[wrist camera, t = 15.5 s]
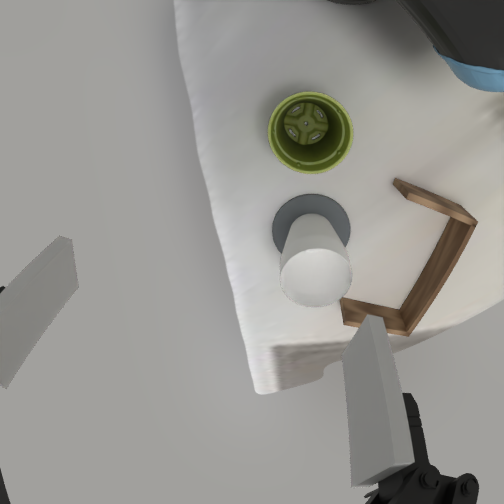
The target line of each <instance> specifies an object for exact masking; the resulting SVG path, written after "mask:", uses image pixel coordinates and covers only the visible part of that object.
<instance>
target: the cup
mask: <svg viewBox="0 0 504 504" xmlns="http://www.w3.org/2000/svg"><path fill="white" fill-rule="evenodd" d="M351 282H352V271H351V265H350V258H349V255H348V252H347V250H346V248H345V247H344V245H343V243H342V242H341V240H340V238H339V237H338V235H337V233H336V232H335V230H334V228H333V227H332V225H331V224H330V222H329V221H328V220H327V219H326V218H325V217H323V216H321V215H319V214H312V213H311V214H305V215H302V216H300V217H298V218H297V219H296V220H295V221H294V222H293V224H292V225H291V228H290V231H289V234H288V237H287V240H286V243H285V246H284V249H283V252H282V255H281V259H280V283H281V287H282V290H283V292H284V293H285V295H286V296H287V297H288V298H289V299H290V300H292V301H293V302H295V303H297V304H299V305H302V306H306V307H323V306H327V305H330V304H332V303H334V302H336V301H338V300H339V299H341V298H342V297H343V296H344V295H345V294H346V292H347V291H348V289H349V287H350V285H351Z"/></svg>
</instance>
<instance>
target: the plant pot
mask: <svg viewBox="0 0 504 504" xmlns="http://www.w3.org/2000/svg"><path fill="white" fill-rule="evenodd" d="M296 107H300V109H298V110H296V111H295V112H293V113H292V111H293V110H294V109H295V108H296ZM316 110H319V111H320V112H321V114H322V115H323V118H321V116H320V115H319V113H318V112H317V111H316ZM305 122H308V125H305V124H304V123H305ZM289 129H291V130H292V131H293V133H294V134H295V135H296V137H294V136H293V135H292V134H291V133H290V131H289ZM318 134H320V136H319V137H318V138H317V139H315V140H312V138H313V137H315V136H317V135H318ZM268 140H269V144H270V147H271V149H272V151H273V153H274V154H275V156H276V157H277V158H278V159H279V161H280V162H282V163H283V164H284V165H285V166H287V167H288V168H290V169H292V170H294V171H297V172H300V173H305V174H318V173H323V172H326V171H328V170H331V169H332V168H334V167H335V166H337V165H338V164H339V163H340V162H341V161H343V159H344V158H345V157H346V155H347V154H348V152H349V150H350V148H351V145H352V141H353V125H352V122H351V119H350V117H349V115H348V113H347V111H346V110H345V109H344V107H343V106H342V105H341V104H340V103H339V102H338V101H336V100H335V99H333V98H332V97H330V96H328V95H325V94H322V93H318V92H300V93H297V94H294V95H291V96H289V97H288V98H286V99H285V100H283V101H282V102H281V103H280V104H279V105H278V106H277V107H276V108H275V110H274V111H273V113H272V115H271V117H270V120H269V124H268Z"/></svg>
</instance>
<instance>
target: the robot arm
mask: <svg viewBox="0 0 504 504" xmlns="http://www.w3.org/2000/svg"><path fill="white" fill-rule="evenodd" d="M328 1H331V2H335V3H340V4H349V5H356V4H365V3H369V2H372V1H375V0H328ZM397 1H398V3H399V4H400V5H401V6H402V7H403V8H404V9H405V10H406V11H407V13H408V14H409V15H410V16H411V17H412V18H413V20H414V21H415V22H416V23H417V24H418V26H419V27H420V28H421V29H422V31H423V32H424V33H425V34H426V36H427V37H428V38H429V39H430V41H431V42H432V43H433V47H434V49H435V51H436V52H437V54H438V55H440V56H441V57H442V58H443V59H444V60H445V61H446V63H447V64H448V65H449V67H450V68H451V70H452V71H453V72H454V74H455V75H456V76H457V77H458V78H459V79H460V80H461V81H463V82H464V83H465V84H467V85H468V86H470V87H473V88H475V89H479V90H483V91H489V92H504V0H397ZM78 287H79V284H78V279H77V272H76V266H75V259H74V252H73V244H72V239H69V238H65V237H62V236H59V237H58V238H56V239H55V240H54V241H53V242H52V243H51V244H50V245H49V246H48V247H47V248H45V249H44V250H43V251H42V252H41V253H40V254H39V255H38V256H37V257H36V258H35V259H34V260H33V261H32V262H31V263H30V264H29V265H27V266H26V267H25V268H24V269H23V270H22V271H21V272H20V274H18V275H17V276H16V277H15V279H14V280H13V281H12V282H11V283H10V284H9V285H8V286H7V287H4V286H2V287H0V386H2V387H3V388H5V389H7V387H8V386H9V384H10V382H11V381H12V379H13V378H14V376H15V374H16V373H17V371H18V370H19V368H20V367H21V365H22V364H23V362H24V361H25V359H26V357H27V356H28V354H29V353H30V352H31V350H32V349H33V347H34V346H35V344H36V343H37V341H38V340H39V339H40V337H41V336H42V335H43V333H44V332H45V330H46V329H47V327H48V326H49V325H50V324H51V322H52V321H53V320H54V318H55V317H56V316H57V314H58V313H59V312H60V310H61V309H62V308H63V306H64V305H65V303H66V302H67V301H68V300H69V299H70V297H71V296H72V295H73V294H74V292H75V291H76V290H77V289H78ZM342 362H343V370H344V380H345V391H346V402H347V414H348V427H349V442H350V464H351V487H370V486H371V485H373V484H376V483H378V487H379V488H378V489H376V490H374V491H372V492H370V493H367V494H366V495H365V496H364V497H365V498H367V497H369V496H371V497H370V498H369V500H368V501H367V502H366V503H365V504H476V502H477V497H478V492H479V484H478V481H477V479H476V477H475V476H474V475H472V474H469V473H466V474H463V475H461V476H459V477H458V478H453V477H449V476H444V475H441V474H440V472H439V470H438V469H437V468H436V467H435V466H433V465H430V463H429V460H428V455H427V449H426V444H425V438H424V433H423V428H422V427H421V426H422V423H421V419H420V418H419V417H420V414H419V410H418V405H417V403H416V402H415V400H414V398H413V396H412V395H411V393H402V390H401V386H400V382H399V377H398V373H397V369H396V365H395V361H394V357H393V353H392V349H391V346H390V342H389V338H388V335H387V331H386V328H385V324H384V321H383V317H378V316H373V315H368V314H367V316H366V317H365V319H364V321H363V322H362V324H361V326H360V327H359V329H358V330H357V332H356V334H355V335H354V337H353V338H352V340H351V341H350V343H349V345H348V346H347V348H346V349H345V351H344V352H343V354H342ZM0 504H10V501H9V498H8V495H7V491H6V488H5V484H4V481H3V477H2V473H1V469H0Z"/></svg>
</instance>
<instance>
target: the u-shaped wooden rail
mask: <svg viewBox="0 0 504 504" xmlns="http://www.w3.org/2000/svg"><path fill="white" fill-rule="evenodd" d="M393 185H394V186H395V187H396V188H397V189H398V190H399V191H400V193H401V194H402V195H403V196H404V197H405V198H406V199H407V200H410V201H413V202H415V203H418V204H420V205H423V206H426V207H428V208H431V209H433V210H436V211H438V212H440V213H443V214H445V215H448V216H450V219H449V221H448V224H447V226H446V228H445V230H444V232H443V234H442V236H441V238H440V240H439V242H438V244H437V246H436V248H435V249H434V251H433V253H432V255H431V257H430V259H429V261H428V262H427V264H426V266H425V268H424V270H423V271H422V273H421V275H420V277H419V278H418V280H417V282H416V284H415V285H414V287H413V289H412V290H411V292H410V294H409V295H408V297H407V298H406V300H405V302H404V303H403V305H402V306H401V308H400V310H397V309H393V308H388V307H383V306H379V305H374V304H370V303H365V302H361V301H356V300H352V299H347V298H343V297H342V298H341V300H340V305H341V311H342V317H343V323H344V325H347V326H352V327H358V328H359V327H360V326H361V324H362V322H363V321H364V319H365V317H366V316H367V314H368V315H373V316H378V317H383V321H384V324H385V328H386V331H387V333H390V334H396V335H402V336H408V337H409V335H410V334H411V333H412V331H413V330H414V329H415V327H416V326H417V324H418V323H419V322H420V320H421V319H422V317H423V316H424V314H425V313H426V311H427V310H428V308H429V307H430V305H431V304H432V302H433V301H434V299H435V298H436V296H437V295H438V293H439V291H440V290H441V288H442V287H443V285H444V283H445V282H446V280H447V278H448V277H449V275H450V273H451V272H452V270H453V268H454V267H455V265H456V263H457V261H458V260H459V258H460V256H461V254H462V252H463V250H464V249H465V247H466V245H467V243H468V241H469V239H470V237H471V235H472V233H473V231H474V229H475V227H476V225H477V223H478V221H477V220H476V219H475V218H474V217H473V216H472V215H470V214H469V213H468V212H467V211H466V210H465V209H464V208H463V207H462V206H461V205H459V204H456V203H454V202H452V201H450V200H447V199H445V198H443V197H441V196H438V195H436V194H434V193H431V192H429V191H427V190H424V189H422V188H419V187H417V186H414V185H412V184H409V183H407V182H404V181H402V180H399V179H396V178H395V180H394V182H393Z"/></svg>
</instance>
